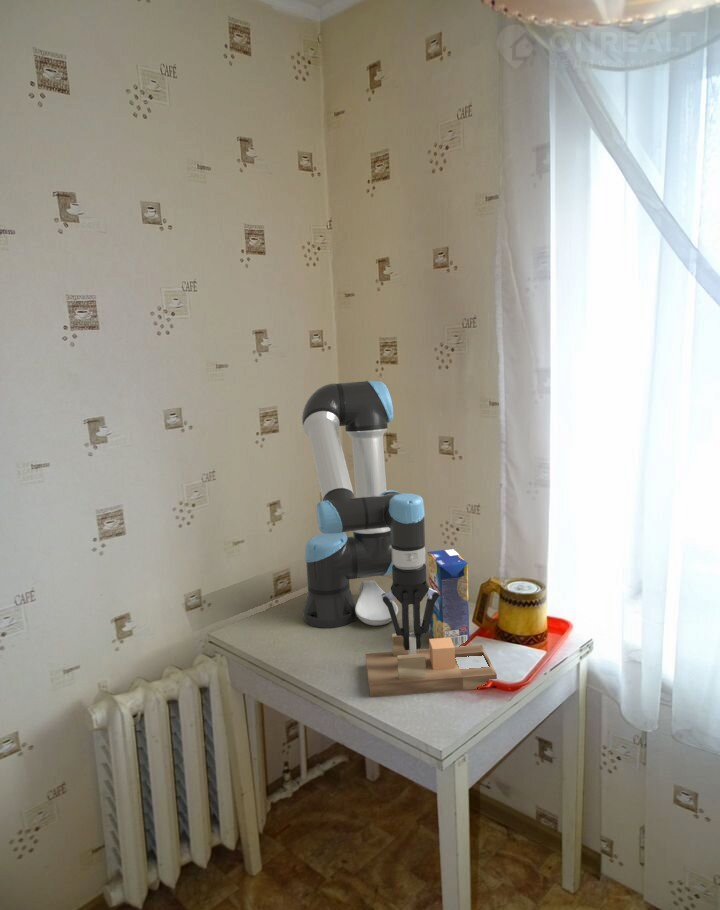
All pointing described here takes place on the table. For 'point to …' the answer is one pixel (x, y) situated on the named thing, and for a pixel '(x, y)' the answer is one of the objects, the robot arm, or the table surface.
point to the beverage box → (449, 595)
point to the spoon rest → (372, 605)
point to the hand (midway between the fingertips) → (412, 661)
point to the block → (442, 653)
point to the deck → (422, 671)
